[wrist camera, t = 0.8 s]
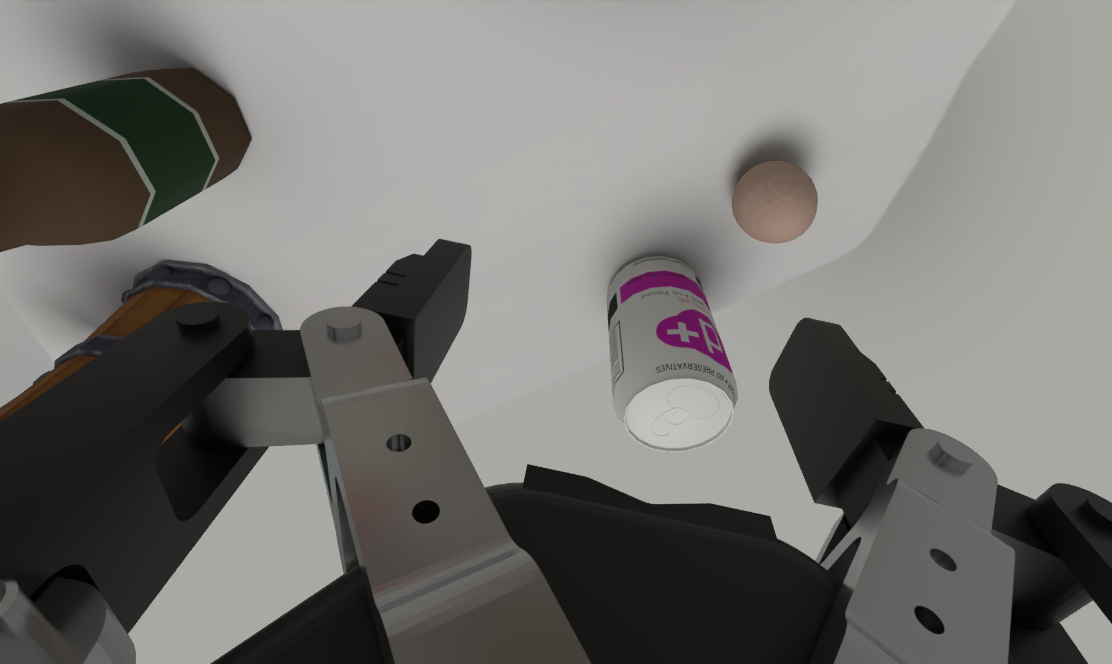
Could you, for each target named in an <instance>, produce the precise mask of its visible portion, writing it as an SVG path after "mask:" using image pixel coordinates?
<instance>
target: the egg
mask: <svg viewBox="0 0 1112 664" xmlns="http://www.w3.org/2000/svg"><path fill="white" fill-rule="evenodd" d="M817 203H818V198H817V191H816V188H815V186H814V184H813V182H812V179H811V178H810V177H809V176H808V175H807V173H806V172H805V171H803V170H802V169H801V168H799V167H798V166H796V165H795V164H792V163H789V162H785V161H778V160H776V161H768V162H764V163H761V164H758V165H756V166H754V167H753V168H751V169H750V170H748V171H747V172H746V173H745V174H744V175H743V176H742V177H741V179H740V180H739V182H738V183H737V185H736V187H735V189H734V193H733V198H732V209H733V214H734V217H735V219H736V221H737V223H738V224H739V225H740V227H741V228H742V229H743V230H744V231H745V232H746V233H747V234H748V235H750V236H751V237H753V238H755V239H757V240H759V241H763V242H768V243H783V242H788V241H791V240H793V239H796V238H797V237H799V236H800V235H802V234H803V233H804V232H805V231H806V230H807V229H808V228H809V227H810V225H811V223H812V222H813V220H814V218H815V215H816V211H817Z"/></svg>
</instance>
